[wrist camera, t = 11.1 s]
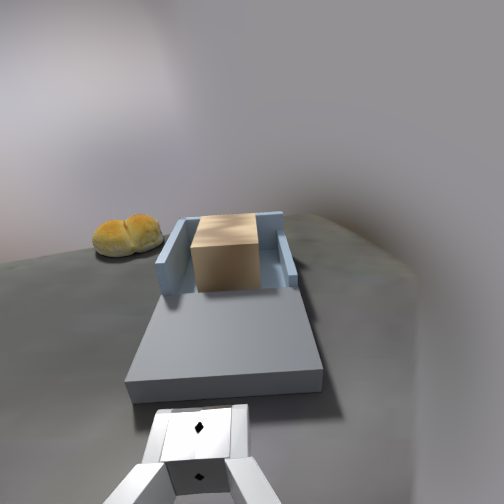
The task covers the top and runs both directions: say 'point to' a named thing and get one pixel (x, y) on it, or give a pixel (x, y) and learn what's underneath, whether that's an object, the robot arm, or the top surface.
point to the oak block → (226, 253)
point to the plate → (226, 347)
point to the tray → (270, 255)
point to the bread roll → (127, 236)
